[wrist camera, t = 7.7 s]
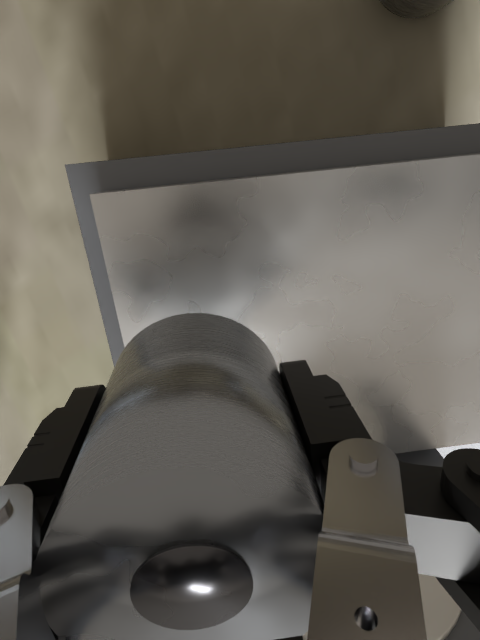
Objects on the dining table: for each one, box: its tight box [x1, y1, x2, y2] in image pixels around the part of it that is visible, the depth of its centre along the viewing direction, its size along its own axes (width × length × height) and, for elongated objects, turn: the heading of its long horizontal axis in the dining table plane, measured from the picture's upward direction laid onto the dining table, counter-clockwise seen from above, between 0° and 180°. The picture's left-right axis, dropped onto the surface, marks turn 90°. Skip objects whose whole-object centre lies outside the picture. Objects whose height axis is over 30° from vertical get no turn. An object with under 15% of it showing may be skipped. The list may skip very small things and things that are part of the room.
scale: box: [65, 123, 480, 640], centre depth 17 cm, size 18×18×16 cm
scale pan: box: [89, 153, 480, 454], centre depth 17 cm, size 16×13×1 cm
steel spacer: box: [35, 313, 324, 640], centre depth 9 cm, size 5×5×6 cm
